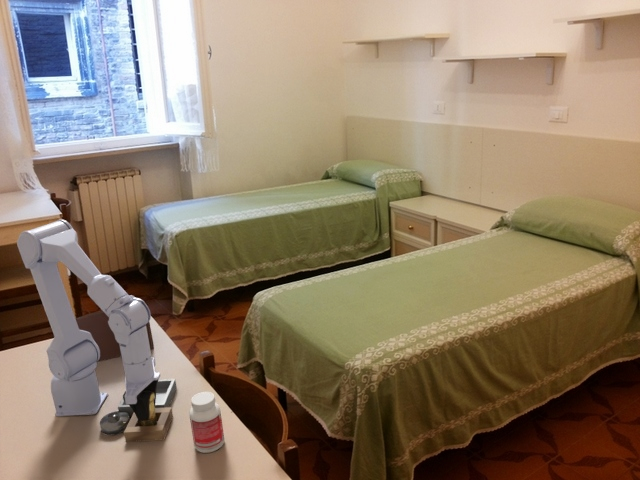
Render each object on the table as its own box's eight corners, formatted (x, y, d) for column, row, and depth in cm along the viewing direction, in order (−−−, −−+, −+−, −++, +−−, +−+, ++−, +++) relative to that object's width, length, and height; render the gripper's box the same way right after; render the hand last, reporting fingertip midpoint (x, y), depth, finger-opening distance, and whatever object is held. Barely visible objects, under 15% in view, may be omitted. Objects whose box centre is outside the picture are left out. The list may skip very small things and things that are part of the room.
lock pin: (137, 434, 121) (131, 402, 118) (142, 421, 125) (137, 391, 122) (156, 433, 121) (151, 401, 118) (161, 420, 125) (156, 390, 122)
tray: (119, 417, 127) (117, 407, 126) (133, 390, 137) (132, 381, 136) (165, 414, 127) (164, 404, 126) (176, 388, 137) (175, 378, 136)
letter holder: (154, 349, 156) (146, 302, 152) (77, 367, 149) (66, 319, 145) (150, 333, 165) (142, 289, 161) (77, 350, 158) (66, 304, 154)
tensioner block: (125, 441, 119) (123, 432, 118) (137, 418, 127) (135, 409, 126) (163, 439, 119) (162, 430, 118) (172, 416, 126) (171, 407, 126)
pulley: (97, 435, 121) (94, 424, 121) (106, 418, 127) (104, 407, 126) (124, 434, 121) (122, 423, 120) (133, 417, 127) (131, 406, 126)
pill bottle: (229, 445, 116) (223, 399, 112) (201, 458, 113) (194, 411, 109) (217, 430, 121) (210, 385, 117) (189, 442, 118) (182, 396, 114)
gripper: (146, 375, 110) (156, 433, 114) (165, 339, 124) (173, 392, 128) (109, 377, 110) (121, 435, 115) (132, 340, 124) (142, 394, 128)
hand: (147, 413), depth 121 cm, fingers closed on lock pin, 4 cm apart
